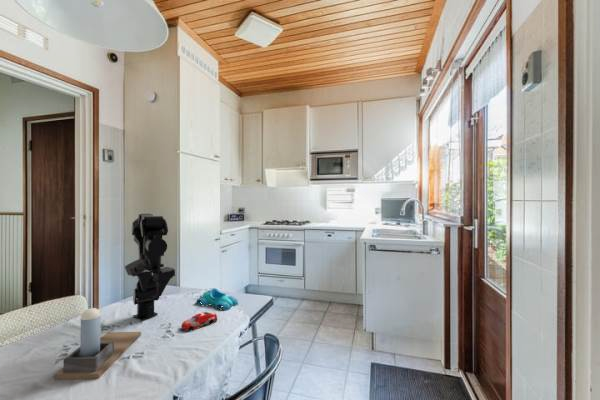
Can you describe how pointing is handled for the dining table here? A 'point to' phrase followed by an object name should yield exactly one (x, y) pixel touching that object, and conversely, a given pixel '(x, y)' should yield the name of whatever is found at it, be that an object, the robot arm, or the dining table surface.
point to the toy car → (217, 299)
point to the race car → (199, 321)
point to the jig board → (97, 357)
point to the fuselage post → (90, 333)
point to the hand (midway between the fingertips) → (151, 293)
